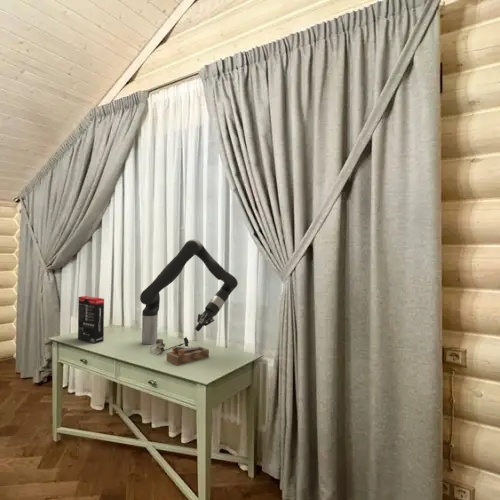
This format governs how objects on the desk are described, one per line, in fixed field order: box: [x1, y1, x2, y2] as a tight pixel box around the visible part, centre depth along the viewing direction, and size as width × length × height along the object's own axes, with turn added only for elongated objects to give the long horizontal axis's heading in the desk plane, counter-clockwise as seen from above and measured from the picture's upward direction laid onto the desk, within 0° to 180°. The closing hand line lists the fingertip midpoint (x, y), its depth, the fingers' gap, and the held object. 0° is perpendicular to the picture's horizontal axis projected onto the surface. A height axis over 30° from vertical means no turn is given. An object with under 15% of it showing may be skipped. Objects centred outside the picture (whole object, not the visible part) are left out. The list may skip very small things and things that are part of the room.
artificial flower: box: [148, 336, 190, 355], centre depth 192 cm, size 9×22×10 cm, turn 119°
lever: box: [176, 345, 202, 350], centre depth 179 cm, size 14×3×1 cm, turn 135°
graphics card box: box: [77, 295, 105, 344], centre depth 210 cm, size 17×7×27 cm, turn 63°
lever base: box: [166, 345, 210, 366], centre depth 179 cm, size 20×10×7 cm, turn 135°
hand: (196, 330), depth 183 cm, fingers closed
